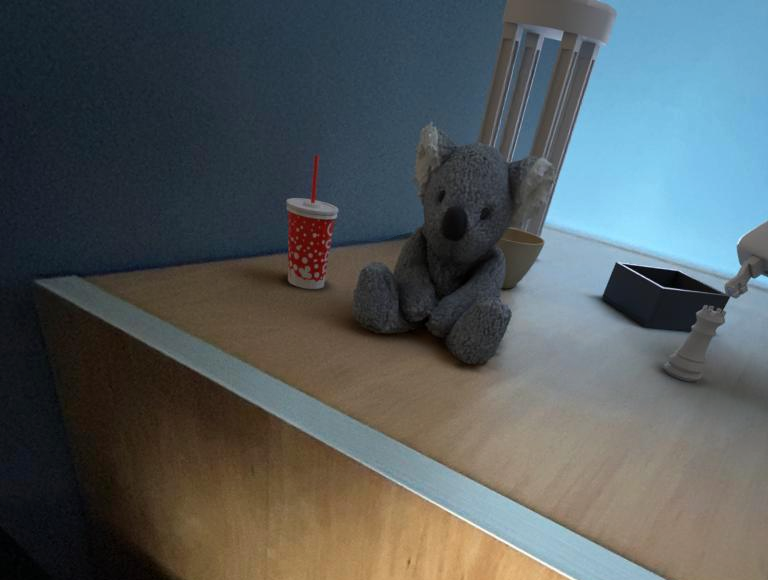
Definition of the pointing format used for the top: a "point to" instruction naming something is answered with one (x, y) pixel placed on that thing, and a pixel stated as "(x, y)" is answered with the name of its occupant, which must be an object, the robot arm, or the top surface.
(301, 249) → the beverage cup
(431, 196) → the koala plush
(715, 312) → the rook chess piece
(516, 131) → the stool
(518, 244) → the flower pot
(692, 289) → the bin
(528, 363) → the top surface
